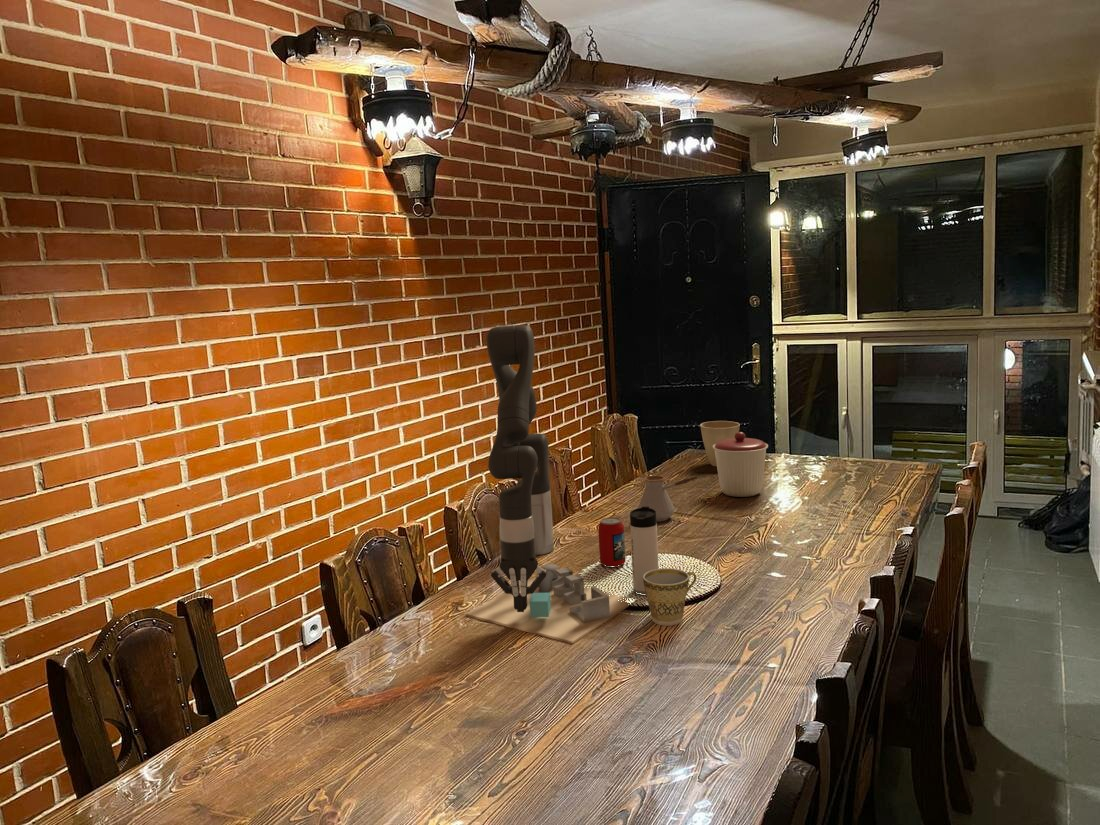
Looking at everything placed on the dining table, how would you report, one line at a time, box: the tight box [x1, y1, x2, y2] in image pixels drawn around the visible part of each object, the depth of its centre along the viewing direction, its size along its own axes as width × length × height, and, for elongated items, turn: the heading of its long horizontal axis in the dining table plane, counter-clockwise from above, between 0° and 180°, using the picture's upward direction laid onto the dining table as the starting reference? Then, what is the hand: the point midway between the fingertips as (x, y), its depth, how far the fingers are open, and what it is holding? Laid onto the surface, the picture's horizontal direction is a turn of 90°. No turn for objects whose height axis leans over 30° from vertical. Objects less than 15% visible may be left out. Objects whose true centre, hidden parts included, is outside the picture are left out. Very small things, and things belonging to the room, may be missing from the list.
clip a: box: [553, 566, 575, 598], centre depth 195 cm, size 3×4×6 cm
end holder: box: [570, 585, 611, 624], centre depth 182 cm, size 7×7×5 cm
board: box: [465, 576, 633, 645], centre depth 189 cm, size 30×26×2 cm
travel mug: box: [629, 506, 660, 594], centre depth 194 cm, size 6×7×20 cm
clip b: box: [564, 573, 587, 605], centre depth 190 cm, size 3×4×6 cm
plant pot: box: [699, 420, 741, 467], centre depth 317 cm, size 15×15×16 cm
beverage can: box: [598, 516, 626, 567], centre depth 214 cm, size 7×7×12 cm
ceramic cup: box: [643, 567, 697, 627], centre depth 179 cm, size 13×10×10 cm
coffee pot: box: [637, 475, 702, 522], centre depth 250 cm, size 21×12×15 cm, turn 53°
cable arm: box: [530, 563, 559, 617], centre depth 191 cm, size 25×4×4 cm, turn 174°
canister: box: [713, 431, 769, 498], centre depth 274 cm, size 18×18×21 cm
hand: (521, 610), depth 182 cm, fingers closed
